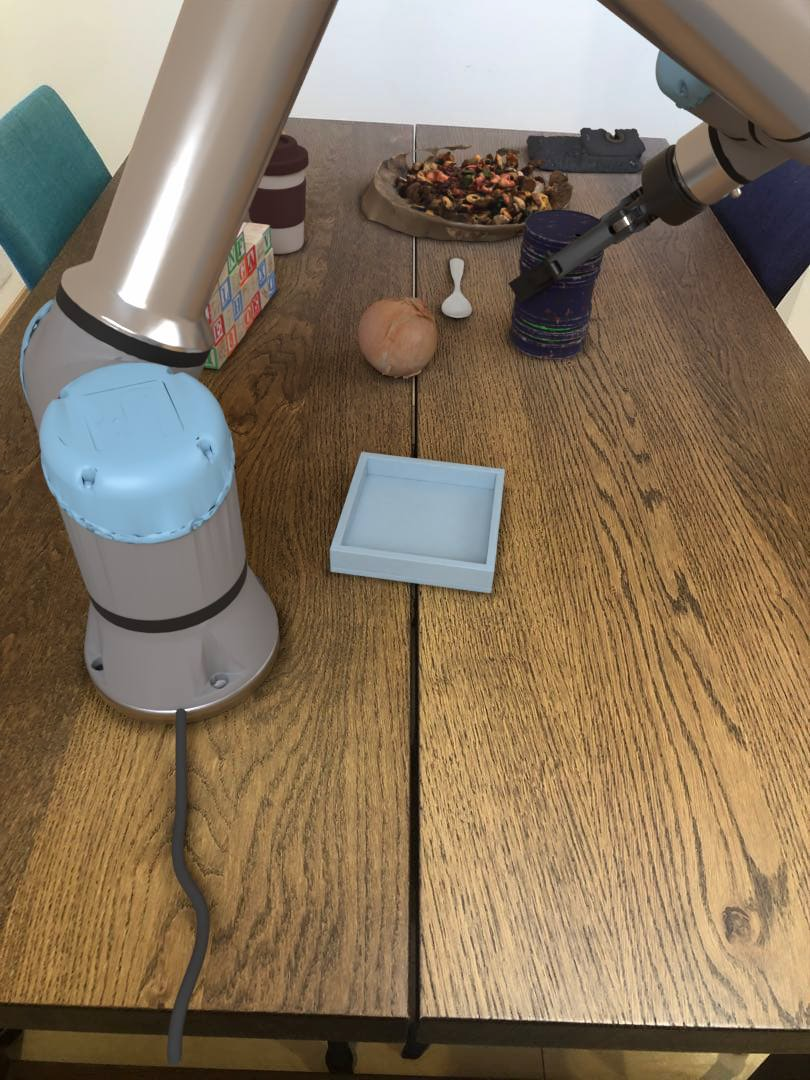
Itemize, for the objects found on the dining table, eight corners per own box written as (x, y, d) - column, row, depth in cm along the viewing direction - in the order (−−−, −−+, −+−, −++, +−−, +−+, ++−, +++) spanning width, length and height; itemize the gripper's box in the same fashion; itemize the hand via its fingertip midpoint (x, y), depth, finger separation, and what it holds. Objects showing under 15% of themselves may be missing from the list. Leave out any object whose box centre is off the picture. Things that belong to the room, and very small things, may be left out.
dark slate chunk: (519, 144, 161) (522, 118, 158) (627, 145, 163) (633, 120, 160) (534, 172, 150) (538, 145, 147) (650, 173, 152) (657, 146, 149)
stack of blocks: (234, 285, 114) (223, 195, 106) (277, 291, 113) (270, 201, 105) (170, 363, 99) (152, 265, 90) (219, 370, 98) (205, 273, 89)
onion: (421, 381, 103) (460, 312, 98) (402, 403, 95) (444, 328, 90) (357, 342, 103) (393, 270, 98) (332, 360, 95) (370, 283, 90)
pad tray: (490, 593, 73) (494, 571, 71) (330, 571, 74) (329, 549, 72) (501, 490, 83) (505, 468, 81) (361, 472, 85) (361, 451, 83)
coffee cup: (320, 254, 122) (316, 148, 112) (255, 263, 119) (245, 155, 109) (301, 228, 129) (296, 126, 118) (239, 236, 126) (228, 132, 116)
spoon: (440, 326, 108) (441, 314, 106) (442, 258, 123) (443, 247, 121) (471, 328, 107) (473, 316, 106) (470, 260, 122) (471, 249, 121)
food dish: (563, 181, 150) (572, 137, 145) (570, 262, 126) (581, 212, 121) (375, 161, 151) (376, 116, 146) (347, 237, 127) (348, 187, 122)
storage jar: (496, 327, 108) (509, 213, 98) (561, 316, 111) (581, 205, 100) (530, 365, 101) (549, 247, 91) (599, 352, 104) (625, 237, 94)
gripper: (664, 246, 78) (508, 338, 94) (747, 174, 93) (601, 263, 109) (625, 175, 76) (473, 281, 92) (716, 114, 91) (572, 214, 108)
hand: (542, 272), depth 101 cm, fingers open, 13 cm apart
